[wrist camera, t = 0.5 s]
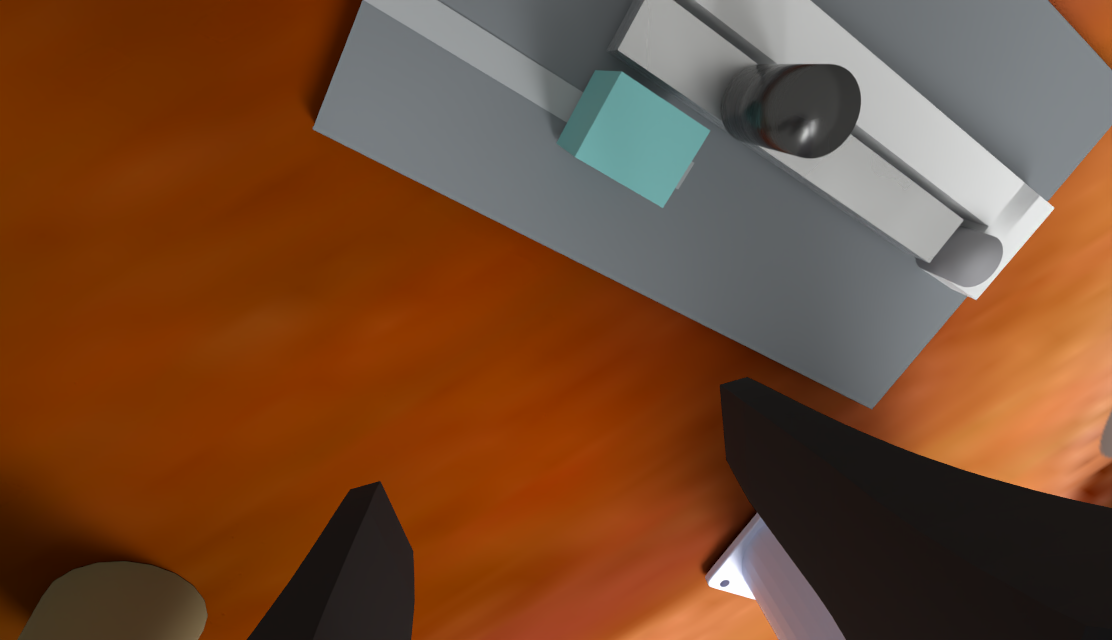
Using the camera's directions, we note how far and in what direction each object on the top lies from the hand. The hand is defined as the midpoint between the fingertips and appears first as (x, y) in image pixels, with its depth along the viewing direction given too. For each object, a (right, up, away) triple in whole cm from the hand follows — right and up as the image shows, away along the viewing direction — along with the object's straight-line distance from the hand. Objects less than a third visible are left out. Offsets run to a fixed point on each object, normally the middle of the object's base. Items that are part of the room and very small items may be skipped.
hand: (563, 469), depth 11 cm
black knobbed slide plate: (+8, +9, +7) cm, 14 cm away
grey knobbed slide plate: (+7, +10, +7) cm, 14 cm away
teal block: (+2, +9, +7) cm, 12 cm away
